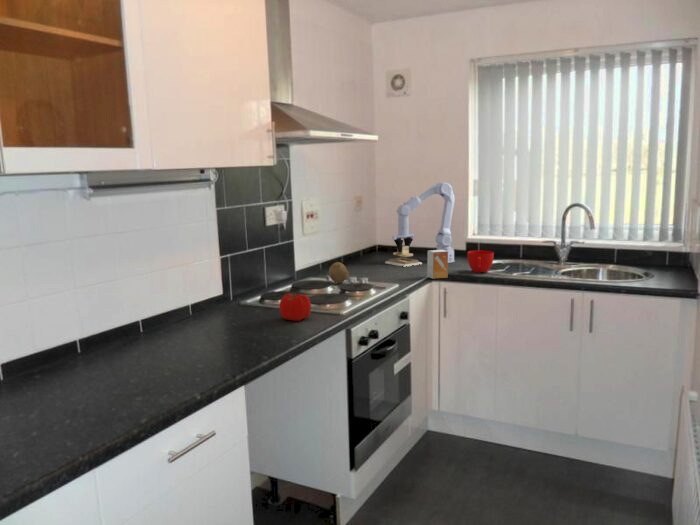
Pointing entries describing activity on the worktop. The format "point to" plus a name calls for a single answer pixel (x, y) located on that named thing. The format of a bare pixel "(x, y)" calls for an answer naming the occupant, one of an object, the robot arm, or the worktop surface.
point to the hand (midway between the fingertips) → (403, 251)
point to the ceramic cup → (480, 260)
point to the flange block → (403, 252)
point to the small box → (437, 264)
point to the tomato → (295, 307)
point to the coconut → (338, 272)
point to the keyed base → (403, 262)
